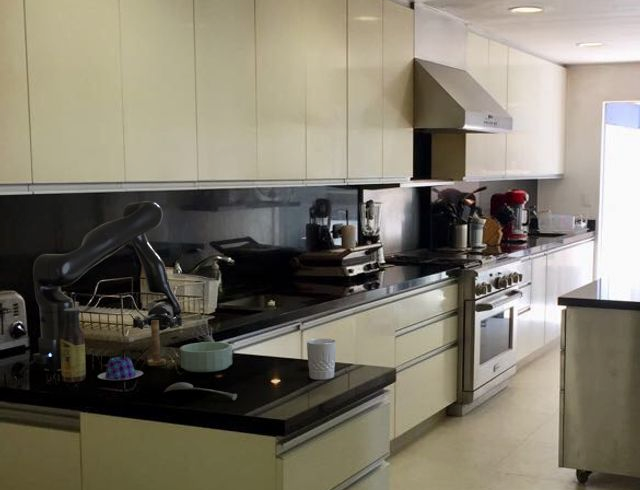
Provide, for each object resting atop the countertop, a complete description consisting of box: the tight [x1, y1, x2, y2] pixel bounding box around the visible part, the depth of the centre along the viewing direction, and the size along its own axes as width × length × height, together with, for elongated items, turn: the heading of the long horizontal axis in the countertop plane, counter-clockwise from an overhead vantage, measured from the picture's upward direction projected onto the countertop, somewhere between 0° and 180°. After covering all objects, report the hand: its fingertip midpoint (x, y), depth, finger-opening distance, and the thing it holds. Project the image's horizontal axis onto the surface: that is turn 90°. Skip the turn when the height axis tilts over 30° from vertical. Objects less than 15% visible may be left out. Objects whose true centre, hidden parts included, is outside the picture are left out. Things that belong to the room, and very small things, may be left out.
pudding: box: [97, 356, 144, 382], centre depth 257 cm, size 12×12×5 cm
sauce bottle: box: [60, 307, 87, 384], centre depth 252 cm, size 7×6×20 cm
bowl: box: [179, 341, 234, 373], centre depth 268 cm, size 15×15×6 cm
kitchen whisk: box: [191, 320, 216, 343], centre depth 299 cm, size 6×34×6 cm, turn 22°
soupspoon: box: [163, 381, 238, 401], centre depth 235 cm, size 22×3×7 cm
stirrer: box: [147, 320, 167, 367], centre depth 273 cm, size 5×5×13 cm
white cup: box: [306, 338, 337, 381], centre depth 254 cm, size 8×8×10 cm
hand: (156, 325), depth 276 cm, fingers open, 8 cm apart
